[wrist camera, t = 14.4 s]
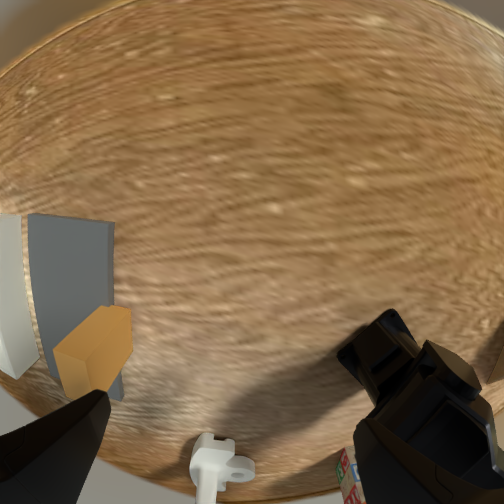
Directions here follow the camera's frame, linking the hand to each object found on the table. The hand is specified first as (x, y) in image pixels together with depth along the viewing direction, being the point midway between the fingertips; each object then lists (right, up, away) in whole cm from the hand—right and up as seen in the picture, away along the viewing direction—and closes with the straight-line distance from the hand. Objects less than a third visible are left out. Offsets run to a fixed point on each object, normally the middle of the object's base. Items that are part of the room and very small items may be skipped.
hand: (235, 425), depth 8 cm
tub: (-26, +2, +12) cm, 29 cm away
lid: (-15, 0, +13) cm, 20 cm away
